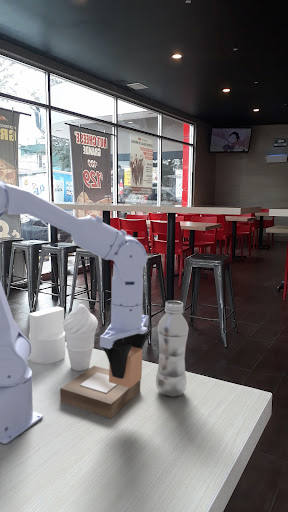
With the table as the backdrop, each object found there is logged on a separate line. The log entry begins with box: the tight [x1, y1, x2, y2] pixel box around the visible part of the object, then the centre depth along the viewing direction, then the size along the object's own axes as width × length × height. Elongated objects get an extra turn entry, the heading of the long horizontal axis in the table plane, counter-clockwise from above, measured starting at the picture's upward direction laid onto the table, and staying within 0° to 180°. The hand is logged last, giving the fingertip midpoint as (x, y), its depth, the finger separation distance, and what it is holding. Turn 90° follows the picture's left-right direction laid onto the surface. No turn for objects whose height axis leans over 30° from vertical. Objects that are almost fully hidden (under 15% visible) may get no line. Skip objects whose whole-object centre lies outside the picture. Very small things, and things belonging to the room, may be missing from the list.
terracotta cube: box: [108, 347, 143, 388], centre depth 75 cm, size 4×4×6 cm
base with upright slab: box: [28, 306, 66, 364], centre depth 101 cm, size 9×9×12 cm
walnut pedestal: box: [59, 365, 142, 419], centre depth 83 cm, size 12×12×3 cm
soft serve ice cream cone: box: [63, 303, 99, 372], centre depth 95 cm, size 8×8×16 cm
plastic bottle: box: [155, 300, 189, 398], centre depth 84 cm, size 6×7×20 cm
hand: (125, 371), depth 75 cm, fingers closed on terracotta cube, 4 cm apart
